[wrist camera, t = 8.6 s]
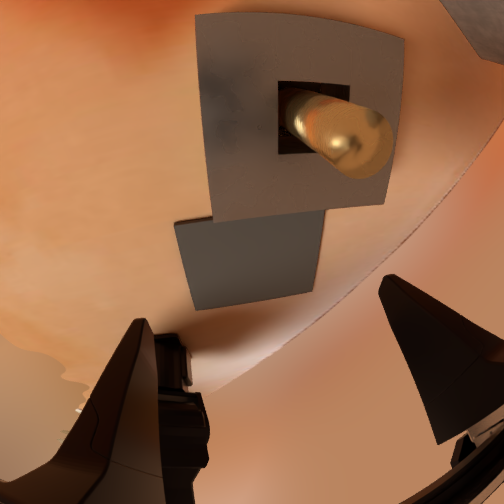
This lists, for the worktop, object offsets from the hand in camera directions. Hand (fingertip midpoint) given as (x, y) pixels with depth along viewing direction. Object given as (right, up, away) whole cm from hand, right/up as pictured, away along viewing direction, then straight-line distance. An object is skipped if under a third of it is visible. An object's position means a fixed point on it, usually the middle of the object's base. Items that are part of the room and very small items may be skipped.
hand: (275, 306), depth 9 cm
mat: (-1, +1, +15) cm, 15 cm away
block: (+2, +12, +7) cm, 14 cm away
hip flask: (+17, +25, 0) cm, 30 cm away
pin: (+2, +12, +7) cm, 14 cm away
